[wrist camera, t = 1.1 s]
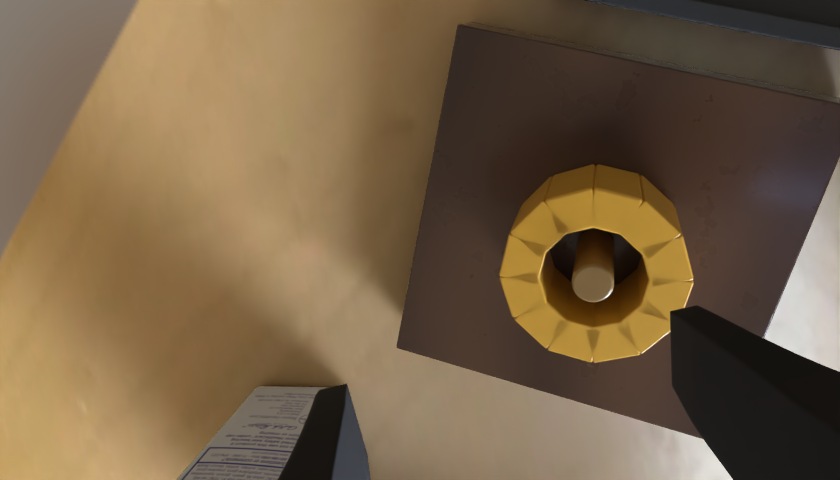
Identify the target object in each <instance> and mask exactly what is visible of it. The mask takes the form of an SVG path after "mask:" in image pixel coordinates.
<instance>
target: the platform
mask: <svg viewBox="0 0 840 480" xmlns="http://www.w3.org/2000/svg"><path fill="white" fill-rule="evenodd" d="M839 157H840V99H839V98H836V97H831V96H826V95H821V94H817V93H812V92H807V91H802V90H797V89H792V88H788V87H783V86H778V85H773V84H768V83H763V82H759V81H754V80H749V79H744V78H739V77H734V76H730V75H725V74H720V73H715V72H710V71H705V70H701V69H696V68H691V67H686V66H681V65H676V64H672V63H667V62H662V61H657V60H652V59H648V58H643V57H638V56H633V55H628V54H623V53H619V52H614V51H609V50H604V49H599V48H594V47H590V46H585V45H580V44H575V43H570V42H565V41H561V40H556V39H551V38H546V37H541V36H536V35H532V34H527V33H522V32H517V31H512V30H507V29H503V28H498V27H493V26H488V25H483V24H478V23H474V22H469V23H464V24H459V25H458V26H457V31H456V36H455V42H454V47H453V52H452V57H451V63H450V68H449V73H448V78H447V84H446V89H445V94H444V99H443V105H442V110H441V115H440V120H439V126H438V131H437V136H436V142H435V147H434V152H433V157H432V163H431V168H430V173H429V178H428V184H427V189H426V194H425V199H424V205H423V210H422V215H421V220H420V226H419V231H418V236H417V242H416V247H415V252H414V257H413V263H412V268H411V273H410V278H409V284H408V289H407V294H406V299H405V305H404V310H403V315H402V320H401V326H400V331H399V336H398V341H397V348H399V349H402V350H406V351H409V352H412V353H416V354H419V355H423V356H426V357H429V358H433V359H436V360H439V361H443V362H446V363H449V364H453V365H456V366H460V367H463V368H466V369H470V370H473V371H476V372H480V373H483V374H486V375H490V376H493V377H497V378H500V379H503V380H507V381H510V382H513V383H517V384H520V385H523V386H527V387H530V388H534V389H537V390H540V391H544V392H547V393H550V394H554V395H557V396H560V397H564V398H567V399H571V400H574V401H577V402H581V403H584V404H587V405H591V406H594V407H597V408H601V409H604V410H608V411H611V412H614V413H618V414H621V415H624V416H628V417H631V418H634V419H638V420H641V421H645V422H648V423H651V424H655V425H658V426H661V427H665V428H668V429H671V430H675V431H678V432H682V433H685V434H688V435H692V436H695V437H698V438H702V436H701V435H700V433H699V432H698V431H697V429H696V428H695V426H694V425H693V423H692V422H691V420H690V418H689V416H688V415H687V413H686V411H685V409H684V407H683V406H682V404H681V402H680V400H679V398H678V396H677V394H676V392H675V390H674V388H673V387H672V372H671V335H670V332H669V333H668V334H667V335H665V336H664V337H663V338H661V339H660V340H659V341H658V342H656V343H655V344H654V345H653V346H651V347H650V348H649V349H647V350H646V351H645V352H644V353H642V354H641V353H640V354H639V355H636V356H630V357H625V358H619V359H613V360H608V361H602V362H596V363H594V362H593V361H592V362H587V361H584V360H580V359H577V358H573V357H570V356H566V355H563V354H559V353H556V352H552V351H549V350H548V348H544V347H543V346H542V345H541V344H540V343H539V342H538V341H537V340H536V339H535V338H534V337H532V336H531V335H530V334H529V333H528V332H527V331H526V330H525V329H524V328H523V327H522V326H520V325H519V324H518V323H517V322H516V321H515V320H514V317H512V315H511V312H510V309H509V306H508V303H507V300H506V297H505V294H504V291H503V288H502V285H501V282H500V279H499V278H500V275H499V272H500V268H501V264H502V260H503V256H504V252H505V248H506V243H507V239H508V235H509V233H510V231H511V228H512V226H513V224H514V221H515V219H516V217H517V215H518V212H519V210H520V208H521V207H522V204H523V203H524V202H525V201H526V200H527V199H528V198H529V197H530V196H531V195H532V194H533V193H534V192H535V191H536V190H537V189H538V188H539V187H540V186H541V185H542V184H543V183H544V182H545V181H546V180H547V179H548V178H549V177H553V176H554V175H555V174H559V173H563V172H566V171H570V170H574V169H577V168H581V167H585V166H588V165H595V166H596V165H599V164H600V165H604V166H608V167H613V168H617V169H621V170H625V171H629V172H634V173H638V174H639V176H641V175H642V176H644V177H645V178H646V179H647V180H648V181H649V182H650V183H651V184H652V185H654V186H655V187H656V188H657V189H658V190H659V191H660V192H661V193H662V194H663V195H664V196H665V197H666V198H667V199H669V200H670V201H671V202H672V203H673V206H674V207H675V209H676V213H677V216H678V220H679V223H680V227H681V231H682V234H683V238H684V242H685V246H686V250H687V253H688V257H689V261H690V265H691V269H692V273H693V277H694V278H693V282H694V284H693V286H692V289H691V292H690V295H689V297H688V300H687V303H686V306H685V308H686V307H691V306H695V305H698V306H700V307H702V308H704V309H706V310H708V311H711V312H713V313H715V314H717V315H718V316H720V317H722V318H724V319H726V320H728V321H730V322H732V323H734V324H736V325H738V326H740V327H742V328H744V329H746V330H748V331H750V332H752V333H754V334H756V335H758V336H760V337H762V338H764V337H765V334H766V332H767V330H768V327H769V325H770V322H771V320H772V318H773V315H774V313H775V310H776V308H777V306H778V303H779V301H780V299H781V296H782V294H783V291H784V289H785V287H786V284H787V282H788V279H789V277H790V275H791V272H792V270H793V267H794V265H795V263H796V260H797V258H798V255H799V253H800V251H801V248H802V246H803V243H804V241H805V239H806V236H807V234H808V231H809V229H810V227H811V224H812V222H813V220H814V217H815V215H816V212H817V210H818V208H819V205H820V203H821V200H822V198H823V196H824V193H825V191H826V188H827V186H828V184H829V181H830V179H831V176H832V174H833V172H834V169H835V167H836V164H837V162H838V160H839ZM550 253H551V257H552V260H553V263H554V266H555V268H556V269H557V270H558V271H559V272H561V273H562V274H563V275H564V276H565V277H566V278H567V279H568V280H569V281H570V282H571V283H572V288H573V290H574V292H575V294H576V295H577V296H578V297H579V298H581V299H583V300H585V301H588V302H598V301H602V300H604V299H606V298H607V297H608V296H609V295H610V294H611V293H612V291H613V288H614V285H617V284H620V283H621V282H622V281H623V280H624V279H626V278H627V277H628V276H629V275H630V274H631V273H633V272H634V271H635V270H636V269H637V268H638V265H639V262H640V259H641V256H642V254H641V253H640V252H639V251H637V250H636V249H635V248H634V247H633V246H632V245H631V244H630V243H629V242H628V241H627V240H626V239H625V238H624V237H622V236H621V235H620V234H616V233H612V232H608V231H604V230H600V229H596V228H590V229H586V230H582V231H578V232H573V233H569V234H566V235H565V236H564V237H563V238H562V239H561V240H559V241H558V242H557V243H556V244H555V245H554V246H553V247H552V248H551V249H550ZM702 439H703V438H702Z"/></svg>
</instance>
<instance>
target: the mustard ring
mask: <svg viewBox="0 0 840 480" xmlns="http://www.w3.org/2000/svg"><path fill="white" fill-rule="evenodd" d="M590 228H596V229H600V230H604V231H608V232H612V233H616V234H620V235H621V236H622V237H624V238H625V239H626V240H627V241H628V242H629V243H630V244H631V245H632V246H633V247H634V248H635V249H636V250H637V251H639V252H640V253H641V254H642V256H641V259H640V262H639V265H638V268H637V269H636V270H635V271H634V272H633V273H631V274H630V275H629V276H628V277H627V278H626V279H624V280H623V281H622V282H621V283H620V284H617V285H614V288H613V291H612V293H611V294H610V295H609V296H608V297H607V298H606V299H604V300H602V301H598V302H588V301H585V300H583V299H581V298H579V297H578V296H577V295H576V294H575V292H574V290H573V288H572V283H571V282H570V281H569V280H568V279H567V278H566V277H565V276H564V275H563V274H562V273H561V272H559V271H558V270H557V269H556V268H555V266H554V263H553V260H552V257H551V253H550V249H551V248H552V247H553V246H554V245H555V244H556V243H557V242H558V241H559V240H561V239H562V238H563V237H564V236H565V235H566V234H569V233H573V232H578V231H582V230H586V229H590ZM499 275H500V278H499V279H500V282H501V285H502V288H503V291H504V294H505V297H506V300H507V303H508V306H509V309H510V312H511V315H512V317H514V320H515V321H516V322H517V323H518V324H519V325H520V326H522V327H523V328H524V329H525V330H526V331H527V332H528V333H529V334H530V335H531V336H532V337H534V338H535V339H536V340H537V341H538V342H539V343H540V344H541V345H542V346H543V347H544V348H548V350H549V351H552V352H556V353H559V354H563V355H566V356H570V357H573V358H577V359H580V360H584V361H587V362H592V361H593V362H594V363H596V362H602V361H608V360H613V359H619V358H625V357H630V356H636V355H639V354H640V353H641V354H642V353H644V352H645V351H646V350H647V349H649V348H650V347H651V346H653V345H654V344H655V343H656V342H658V341H659V340H660V339H661V338H663V337H664V336H665V335H667V334H668V333H669V332H670V311H673V310H677V309H682V308H685V306H686V303H687V300H688V297H689V295H690V292H691V289H692V286H693V284H694V282H693V278H694V277H693V273H692V269H691V265H690V261H689V257H688V253H687V250H686V246H685V242H684V238H683V234H682V231H681V227H680V223H679V220H678V216H677V213H676V209H675V207H674V206H673V203H672V202H671V201H670V200H669V199H667V198H666V197H665V196H664V195H663V194H662V193H661V192H660V191H659V190H658V189H657V188H656V187H655V186H654V185H652V184H651V183H650V182H649V181H648V180H647V179H646V178H645V177H644V176H642V175H641V176H639V174H638V173H634V172H629V171H625V170H621V169H617V168H613V167H608V166H604V165H600V164H599V165H596V166H595V165H588V166H585V167H581V168H577V169H574V170H570V171H566V172H563V173H559V174H555V175H554V176H553V177H549V178H548V179H547V180H546V181H545V182H544V183H543V184H542V185H541V186H540V187H539V188H538V189H537V190H536V191H535V192H534V193H533V194H532V195H531V196H530V197H529V198H528V199H527V200H526V201H525V202H524V203H523V204H522V207H521V208H520V210H519V212H518V215H517V217H516V219H515V221H514V224H513V226H512V228H511V231H510V233H509V235H508V239H507V243H506V248H505V252H504V256H503V260H502V264H501V268H500V272H499Z"/></svg>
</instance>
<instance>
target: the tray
mask: <svg viewBox="0 0 840 480" xmlns="http://www.w3.org/2000/svg"><path fill="white" fill-rule="evenodd" d="M585 1H590V2H595V3H600V4H606V5H611V6H616V7H621V8H626V9H631V10H636V11H641V12H646V13H652V14H657V15H662V16H667V17H672V18H677V19H682V20H687V21H692V22H698V23H703V24H708V25H713V26H718V27H723V28H728V29H733V30H738V31H744V32H749V33H754V34H759V35H764V36H769V37H774V38H779V39H784V40H790V41H795V42H800V43H805V44H810V45H815V46H820V47H825V48H830V49H836V50H840V0H585Z"/></svg>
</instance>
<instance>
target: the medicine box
mask: <svg viewBox="0 0 840 480" xmlns="http://www.w3.org/2000/svg"><path fill="white" fill-rule="evenodd" d="M325 388H330V387H279V386H258V387H256V388H255V389H254V390H253V392H252V393H251V394H250V395H249V396H248V397H247V398H246V400H245V401H244V402H243V403H242V404H241V406H240V407H239V408H238V409H237V410H236V412H235V413H234V414H233V415H232V416H231V417H230V418H229V419H228V421H227V422H226V423H225V424H224V425H223V426H222V428H221V429H220V430H219V431H218V432H217V433H216V435H215V436H214V437H213V438H212V439H211V440H210V442H209V443H208V444H207V445H206V446H205V447H204V448H203V449H202V451H201V452H200V453H199V454H198V455H197V456H196V458H195V459H194V460H193V461H192V462H191V463H190V465H189V466H188V467H187V468H186V469H185V470H184V471H183V473H182V474H181V475H180V476H179V477H178V478H177V480H277V479H278V478H279V476H280V474H281V472H282V470H283V469H284V467H285V465H286V463H287V461H288V459H289V457H290V455H291V453H292V450H293V448H294V446H295V444H296V442H297V440H298V438H299V436H300V433H301V431H302V429H303V426H304V424H305V422H306V419H307V417H308V414H309V412H310V409H311V406H312V404H313V401H314V398H315V395H316V394H317V392H318V391H319V390H321V389H325Z"/></svg>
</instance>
